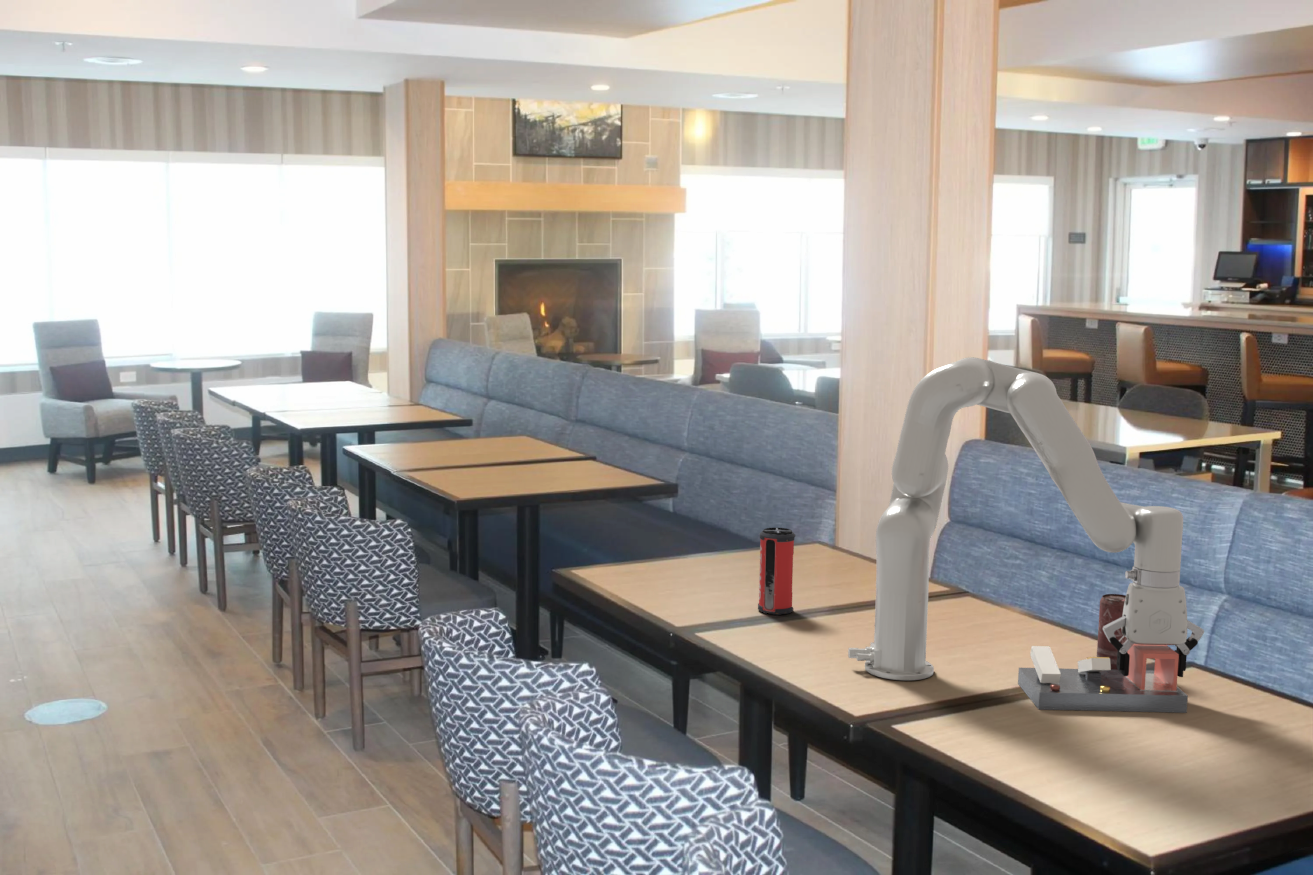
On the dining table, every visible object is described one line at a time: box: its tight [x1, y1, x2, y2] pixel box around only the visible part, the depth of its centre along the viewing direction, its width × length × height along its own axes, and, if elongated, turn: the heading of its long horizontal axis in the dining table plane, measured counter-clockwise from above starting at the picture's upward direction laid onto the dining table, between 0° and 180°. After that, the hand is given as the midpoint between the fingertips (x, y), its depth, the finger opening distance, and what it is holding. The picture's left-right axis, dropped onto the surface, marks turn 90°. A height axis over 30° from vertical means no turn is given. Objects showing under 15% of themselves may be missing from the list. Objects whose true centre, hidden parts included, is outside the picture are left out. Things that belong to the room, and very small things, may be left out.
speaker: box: [757, 527, 796, 616], centre depth 282 cm, size 8×8×18 cm
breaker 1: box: [1029, 645, 1061, 683], centre depth 228 cm, size 3×8×2 cm, turn 179°
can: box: [1096, 593, 1126, 670], centre depth 244 cm, size 6×6×14 cm
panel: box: [1017, 667, 1189, 714], centre depth 228 cm, size 25×14×4 cm, turn 89°
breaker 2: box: [1077, 656, 1111, 673], centre depth 228 cm, size 3×8×2 cm, turn 179°
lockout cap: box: [1127, 644, 1179, 690], centre depth 227 cm, size 6×9×6 cm, turn 179°
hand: (1150, 674), depth 227 cm, fingers open, 9 cm apart
